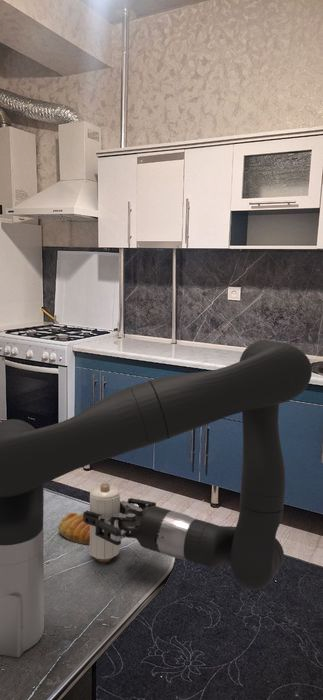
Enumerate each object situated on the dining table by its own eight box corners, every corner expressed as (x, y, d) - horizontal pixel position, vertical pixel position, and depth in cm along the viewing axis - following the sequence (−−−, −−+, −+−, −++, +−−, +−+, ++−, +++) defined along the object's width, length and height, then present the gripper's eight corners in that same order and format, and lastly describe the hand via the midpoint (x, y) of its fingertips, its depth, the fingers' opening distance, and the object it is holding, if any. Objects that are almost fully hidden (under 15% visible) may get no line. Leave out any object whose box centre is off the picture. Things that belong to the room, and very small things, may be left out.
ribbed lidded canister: (114, 560, 95) (115, 492, 93) (86, 557, 95) (86, 490, 94) (122, 545, 100) (122, 480, 98) (94, 542, 101) (95, 478, 99)
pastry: (108, 537, 106) (108, 520, 105) (85, 551, 101) (85, 533, 100) (78, 523, 112) (78, 507, 111) (54, 535, 106) (54, 518, 106)
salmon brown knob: (110, 563, 96) (110, 550, 96) (93, 561, 97) (93, 548, 96) (114, 553, 99) (114, 541, 99) (98, 551, 100) (98, 539, 100)
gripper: (187, 498, 95) (115, 479, 104) (149, 530, 83) (70, 505, 91) (186, 534, 97) (114, 512, 105) (149, 571, 84) (70, 543, 92)
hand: (94, 509), depth 98 cm, fingers closed on ribbed lidded canister, 5 cm apart
